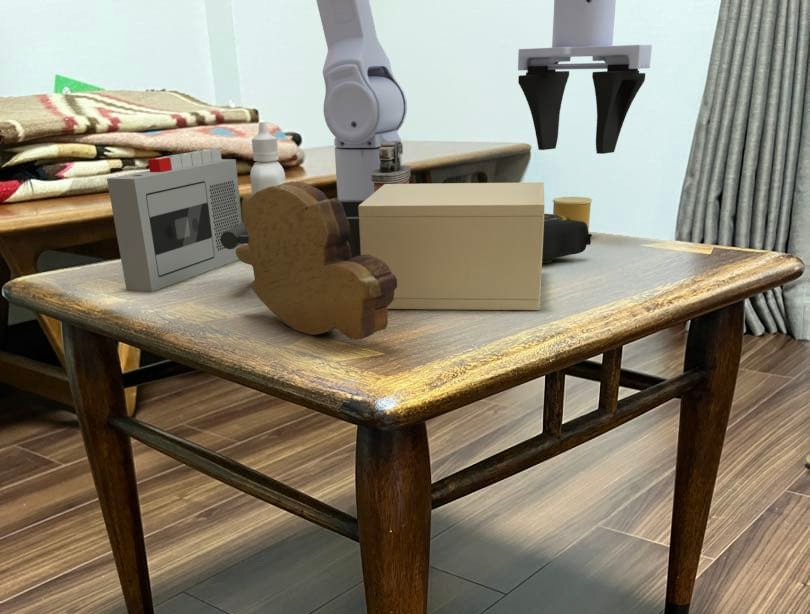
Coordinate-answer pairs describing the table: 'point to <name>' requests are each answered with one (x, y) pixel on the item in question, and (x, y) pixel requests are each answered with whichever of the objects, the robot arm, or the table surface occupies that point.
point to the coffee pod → (573, 208)
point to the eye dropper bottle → (265, 161)
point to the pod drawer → (240, 234)
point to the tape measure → (563, 237)
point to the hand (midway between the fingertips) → (575, 151)
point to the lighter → (390, 166)
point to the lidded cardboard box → (458, 243)
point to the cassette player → (175, 218)
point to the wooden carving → (312, 263)
